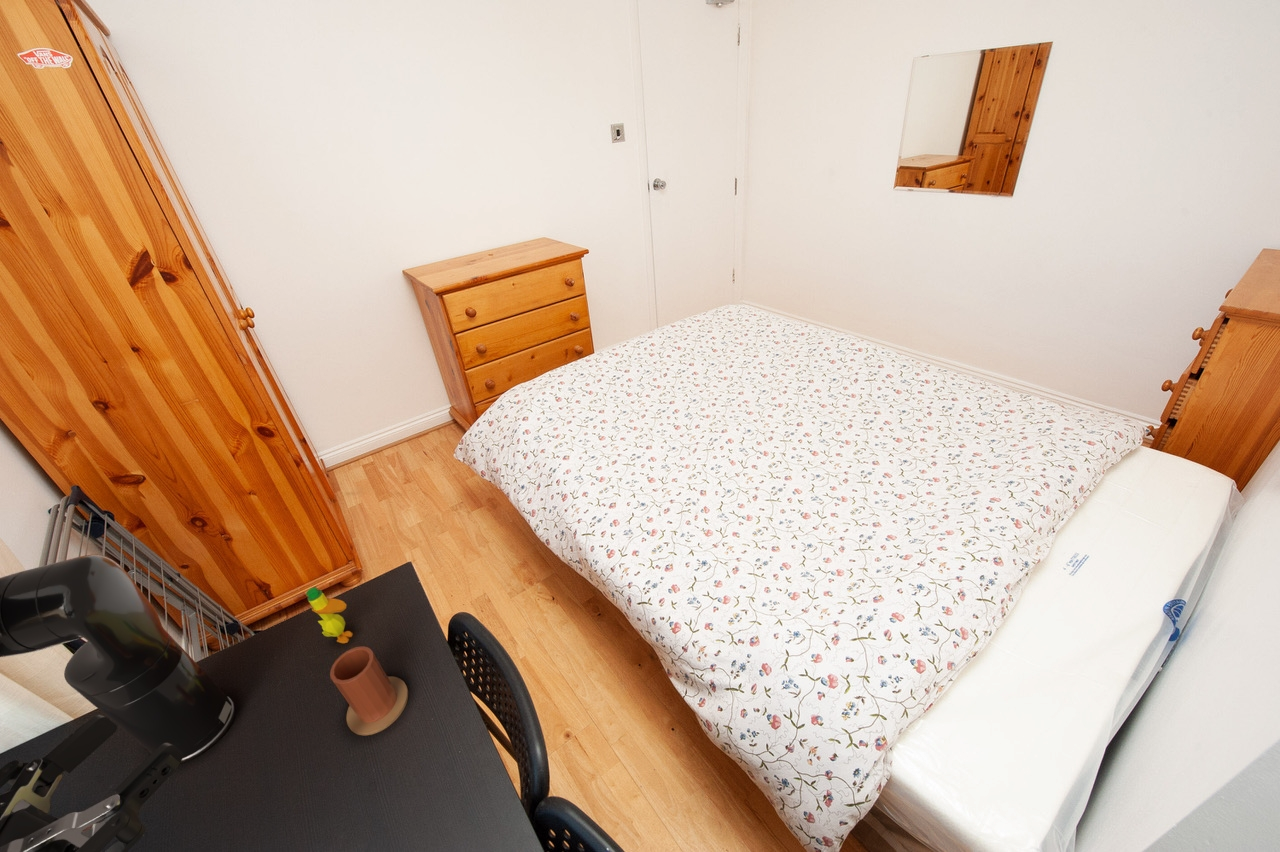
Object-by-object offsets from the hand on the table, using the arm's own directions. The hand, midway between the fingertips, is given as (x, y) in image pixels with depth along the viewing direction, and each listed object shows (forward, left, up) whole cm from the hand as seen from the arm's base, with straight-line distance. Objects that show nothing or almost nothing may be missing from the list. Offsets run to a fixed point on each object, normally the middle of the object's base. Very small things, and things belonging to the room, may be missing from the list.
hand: (141, 733), depth 42 cm
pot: (-4, +18, -29) cm, 35 cm away
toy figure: (-18, +26, -30) cm, 44 cm away
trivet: (-4, +18, -30) cm, 35 cm away
